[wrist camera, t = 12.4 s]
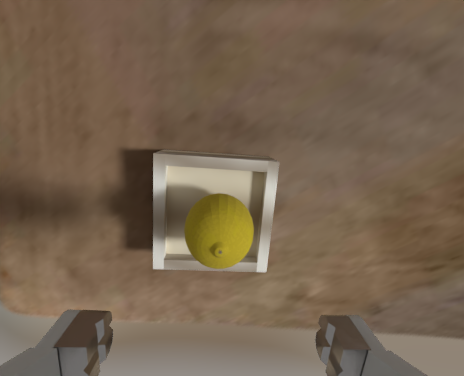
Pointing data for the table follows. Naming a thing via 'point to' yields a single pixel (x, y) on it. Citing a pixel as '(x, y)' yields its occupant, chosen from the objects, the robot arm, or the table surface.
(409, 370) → the robot arm
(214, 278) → the table surface
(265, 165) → the base
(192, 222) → the lemon
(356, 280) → the table surface
